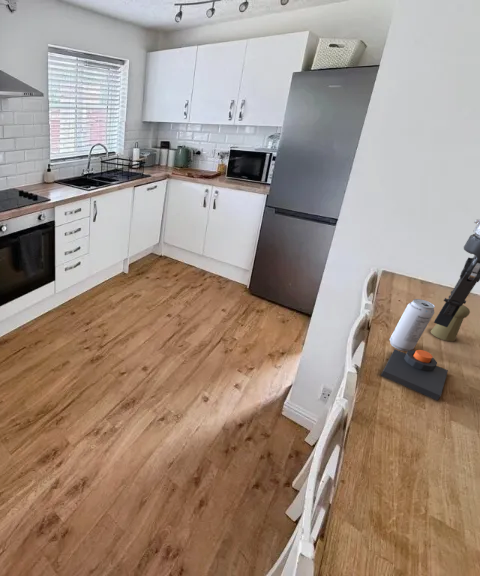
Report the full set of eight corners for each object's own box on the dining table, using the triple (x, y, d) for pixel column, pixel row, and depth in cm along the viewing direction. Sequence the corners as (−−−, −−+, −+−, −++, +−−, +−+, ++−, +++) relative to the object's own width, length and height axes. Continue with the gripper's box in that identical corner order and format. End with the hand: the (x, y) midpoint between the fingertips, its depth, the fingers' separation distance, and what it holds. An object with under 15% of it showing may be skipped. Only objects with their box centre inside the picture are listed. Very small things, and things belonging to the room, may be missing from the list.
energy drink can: (402, 340, 113) (425, 298, 106) (417, 352, 108) (443, 309, 100) (383, 339, 113) (405, 297, 105) (398, 352, 107) (422, 308, 100)
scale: (392, 352, 107) (397, 342, 106) (445, 373, 100) (451, 363, 98) (380, 375, 98) (386, 365, 96) (437, 400, 91) (444, 390, 89)
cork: (432, 327, 120) (449, 298, 115) (456, 336, 116) (475, 306, 111) (428, 334, 116) (446, 305, 111) (453, 343, 112) (472, 313, 107)
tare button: (414, 353, 102) (417, 348, 101) (430, 359, 100) (433, 354, 99) (412, 358, 100) (414, 353, 99) (428, 365, 98) (431, 360, 97)
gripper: (473, 227, 90) (426, 309, 101) (468, 239, 81) (418, 327, 93) (516, 236, 85) (462, 321, 96) (516, 250, 77) (456, 340, 88)
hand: (440, 323), depth 95 cm, fingers closed
